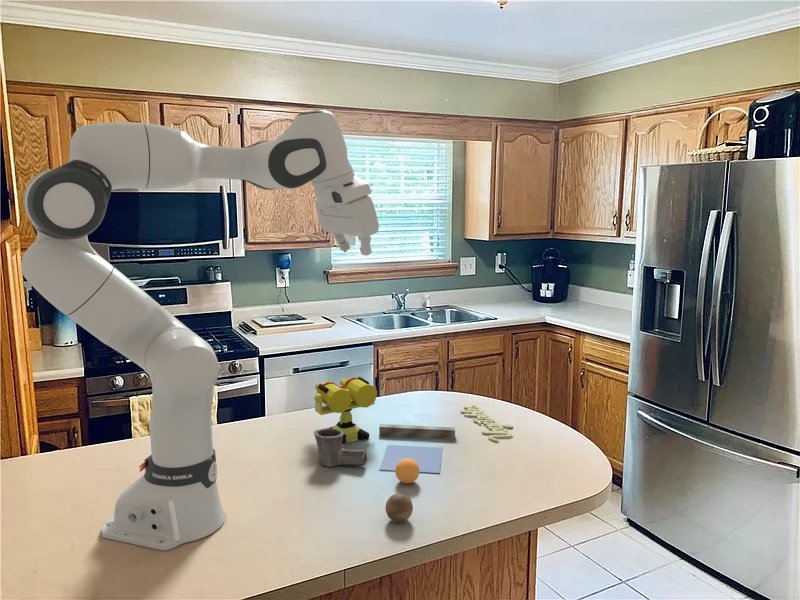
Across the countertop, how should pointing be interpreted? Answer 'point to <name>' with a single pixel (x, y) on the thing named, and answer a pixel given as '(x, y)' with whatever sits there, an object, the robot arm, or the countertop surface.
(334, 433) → the pipe
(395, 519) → the walnut ball
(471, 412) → the decorative sign
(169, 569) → the countertop surface
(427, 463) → the blue mark
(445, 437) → the rail
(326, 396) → the toy
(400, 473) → the orange ball
